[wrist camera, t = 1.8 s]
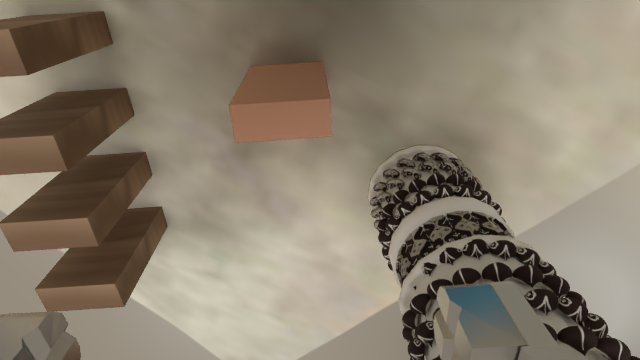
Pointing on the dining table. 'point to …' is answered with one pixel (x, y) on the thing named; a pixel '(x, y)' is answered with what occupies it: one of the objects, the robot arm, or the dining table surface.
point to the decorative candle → (466, 252)
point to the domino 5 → (282, 103)
